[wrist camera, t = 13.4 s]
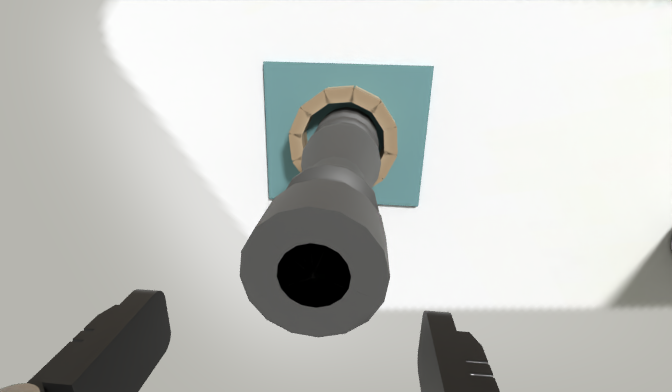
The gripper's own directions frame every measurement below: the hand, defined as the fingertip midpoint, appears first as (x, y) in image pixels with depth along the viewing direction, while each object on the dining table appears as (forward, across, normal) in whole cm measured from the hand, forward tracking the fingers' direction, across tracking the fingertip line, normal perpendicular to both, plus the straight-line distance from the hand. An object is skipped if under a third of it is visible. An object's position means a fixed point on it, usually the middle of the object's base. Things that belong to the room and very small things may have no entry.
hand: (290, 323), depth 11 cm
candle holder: (+28, 0, 0) cm, 28 cm away
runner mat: (+28, 0, 0) cm, 28 cm away
